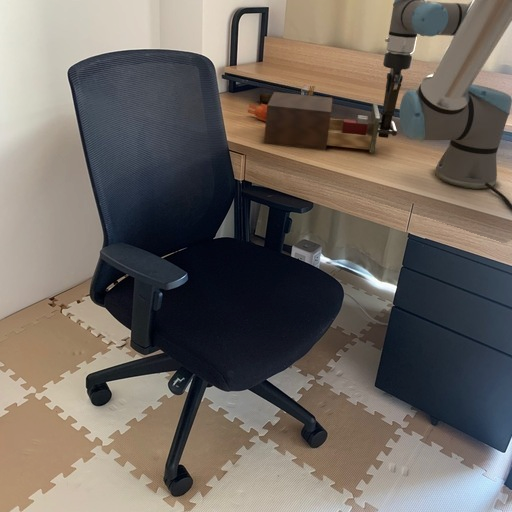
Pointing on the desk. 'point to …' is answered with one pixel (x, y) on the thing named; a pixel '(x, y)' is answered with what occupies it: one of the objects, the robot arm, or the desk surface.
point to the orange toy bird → (259, 111)
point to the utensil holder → (309, 90)
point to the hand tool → (265, 97)
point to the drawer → (358, 140)
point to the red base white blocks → (355, 125)
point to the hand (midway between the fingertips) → (383, 136)
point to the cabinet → (298, 120)
